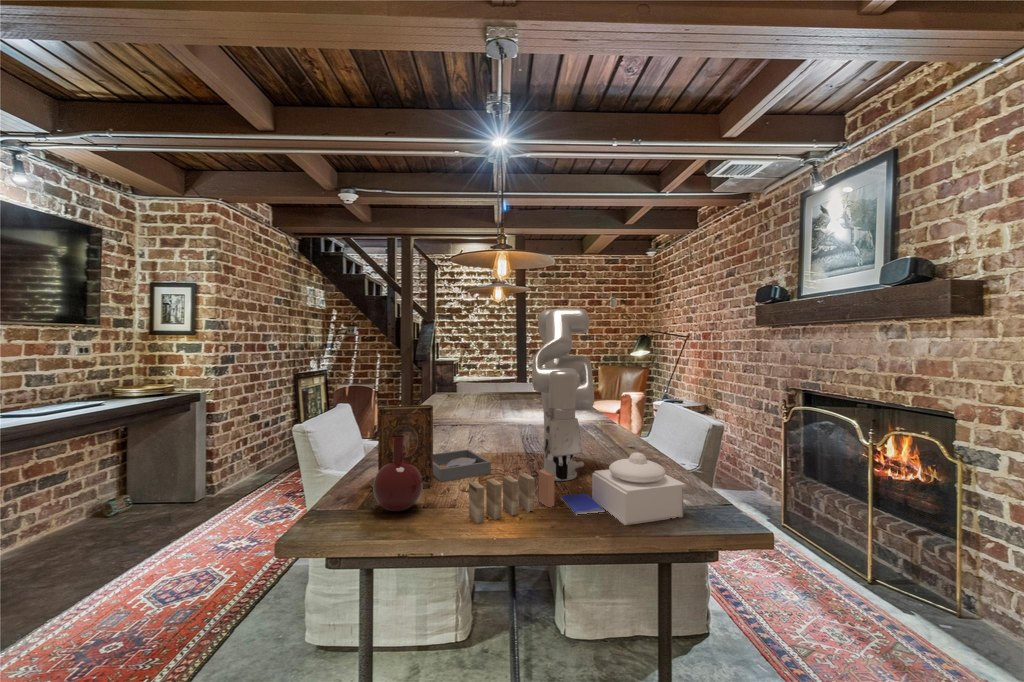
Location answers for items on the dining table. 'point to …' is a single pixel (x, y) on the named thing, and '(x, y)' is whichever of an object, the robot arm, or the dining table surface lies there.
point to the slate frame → (461, 471)
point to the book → (408, 437)
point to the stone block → (460, 462)
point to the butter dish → (637, 491)
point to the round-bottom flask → (398, 481)
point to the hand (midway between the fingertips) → (561, 478)
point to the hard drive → (582, 504)
